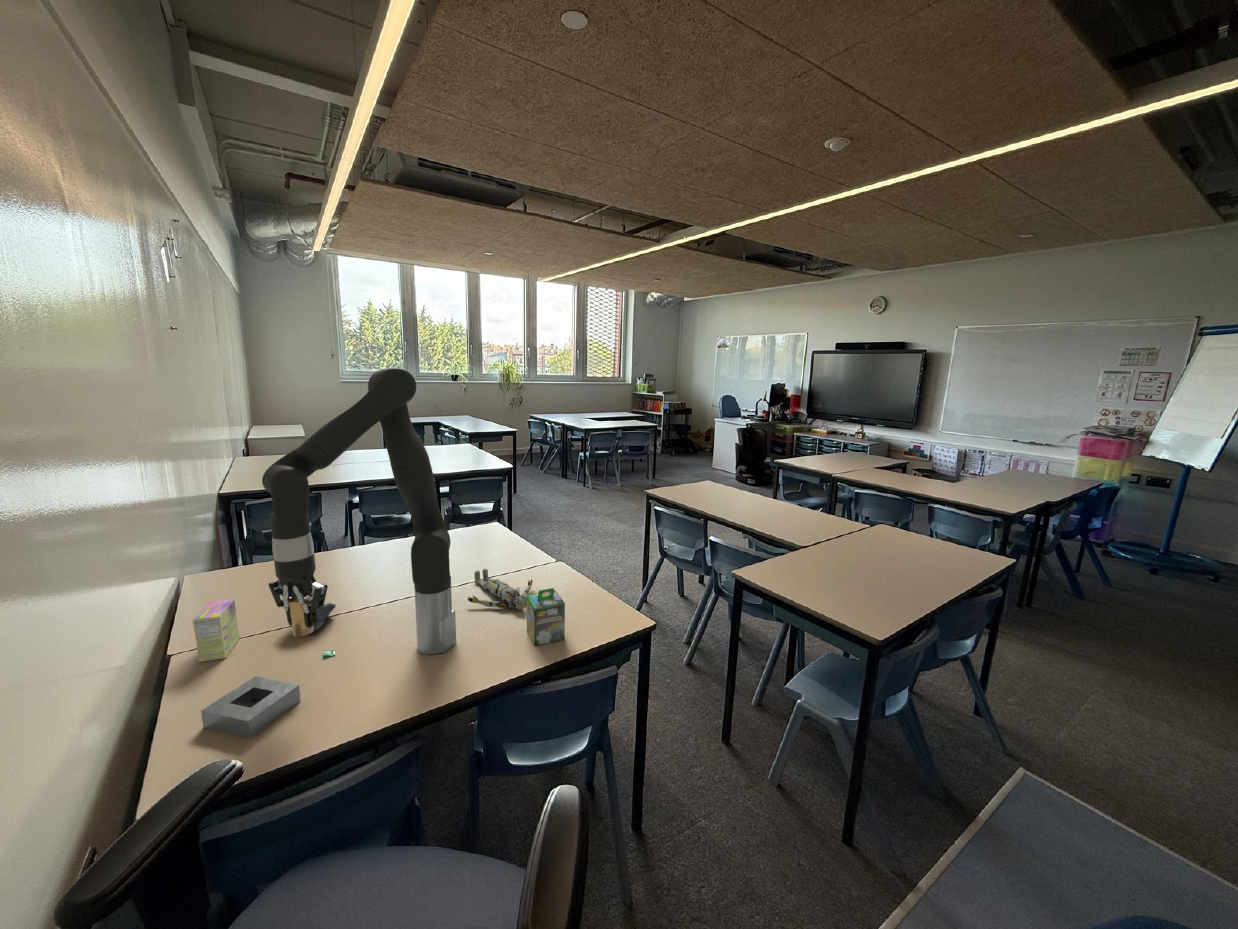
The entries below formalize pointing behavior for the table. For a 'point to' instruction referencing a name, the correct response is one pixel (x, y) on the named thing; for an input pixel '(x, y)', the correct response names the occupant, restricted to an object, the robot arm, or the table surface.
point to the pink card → (328, 653)
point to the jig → (245, 721)
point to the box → (216, 630)
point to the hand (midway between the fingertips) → (302, 624)
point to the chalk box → (545, 617)
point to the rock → (323, 615)
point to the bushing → (299, 618)
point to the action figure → (500, 592)
